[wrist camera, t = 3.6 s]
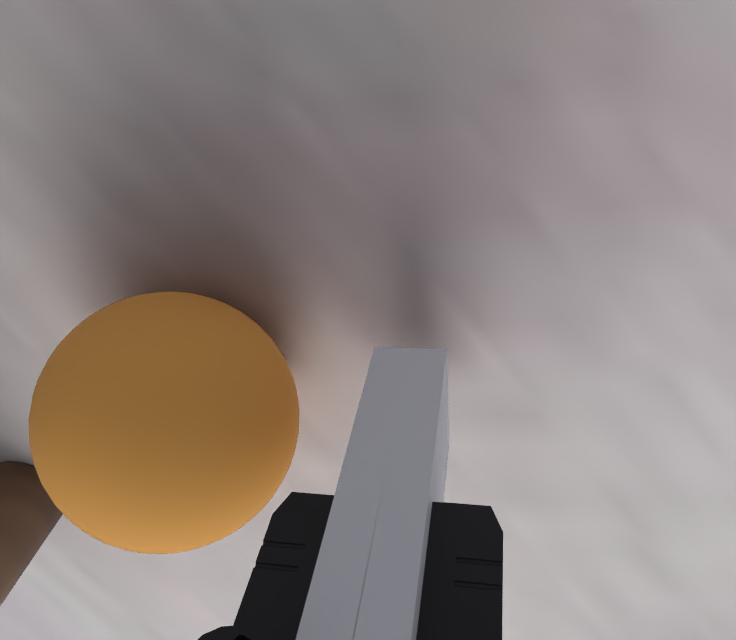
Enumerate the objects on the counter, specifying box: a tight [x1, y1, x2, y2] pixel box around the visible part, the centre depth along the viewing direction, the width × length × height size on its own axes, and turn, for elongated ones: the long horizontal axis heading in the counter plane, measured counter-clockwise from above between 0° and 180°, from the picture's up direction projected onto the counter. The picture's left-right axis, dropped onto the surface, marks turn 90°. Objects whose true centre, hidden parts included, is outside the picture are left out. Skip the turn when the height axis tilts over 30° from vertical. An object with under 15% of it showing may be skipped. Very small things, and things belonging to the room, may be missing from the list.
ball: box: [29, 291, 299, 554], centre depth 15 cm, size 6×6×6 cm
